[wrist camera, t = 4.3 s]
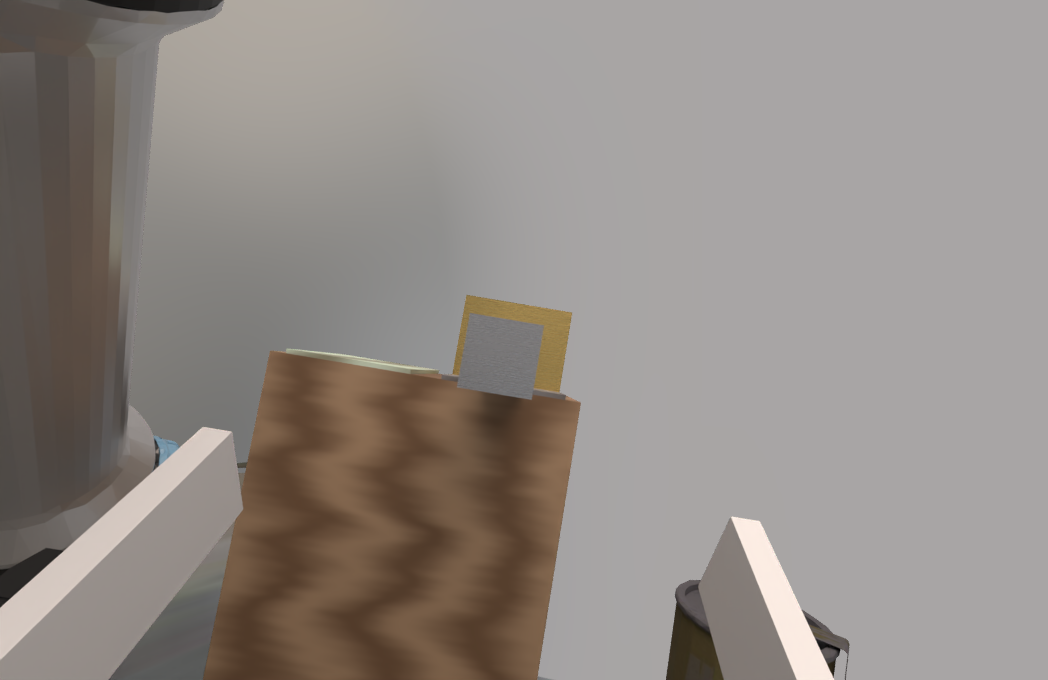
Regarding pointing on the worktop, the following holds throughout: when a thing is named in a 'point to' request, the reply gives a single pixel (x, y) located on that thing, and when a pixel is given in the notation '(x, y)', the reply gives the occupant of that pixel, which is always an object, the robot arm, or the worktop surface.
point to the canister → (693, 649)
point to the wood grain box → (392, 527)
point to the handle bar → (510, 347)
